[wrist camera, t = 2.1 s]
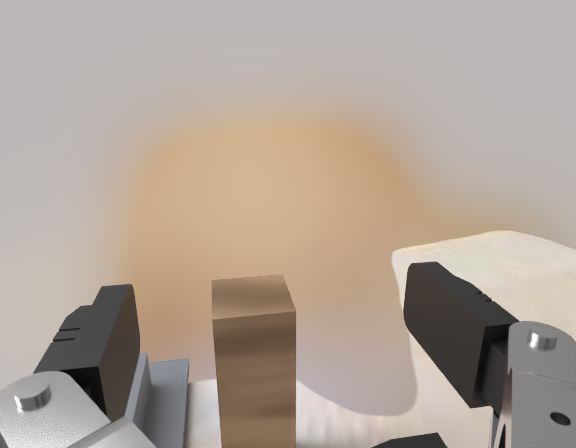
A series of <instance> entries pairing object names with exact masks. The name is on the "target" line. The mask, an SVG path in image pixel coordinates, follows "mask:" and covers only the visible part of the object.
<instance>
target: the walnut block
mask: <svg viewBox="0 0 576 448" xmlns="http://www.w3.org/2000/svg"><path fill="white" fill-rule="evenodd" d="M212 322H213V334H214V348H215V362H216V375H217V389H218V402H219V416H220V429H221V443H222V448H296V310H295V307H294V304H293V302H292V299H291V296H290V293H289V291H288V288H287V285H286V282H285V280H284V277H283V275H270V276H258V277H246V278H234V279H223V280H212Z"/></svg>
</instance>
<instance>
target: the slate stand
mask: <svg viewBox="0 0 576 448" xmlns="http://www.w3.org/2000/svg"><path fill="white" fill-rule="evenodd" d="M188 375H189V359H178V360H169V361H161V362H152V363H148V356H147V353H146V354H139V359H138V363H137V367H136V372H135V376H134V380H133V384H132V388H131V392H130V396H129V400H128V404H127V408H126V412H125V417H127V418H128V419H130V420H131V421H132V422H133V423H134V424H135V425H136V426H137V427H138V429H139V430H140V431H141V432H142V433H143V434H144V435H145V436H146V437H147V438H148V439H149V440H150V441H151V442H152V443H153V444H154V445H155V446H156V447H157V448H184V436H185V421H186V405H187V390H188Z"/></svg>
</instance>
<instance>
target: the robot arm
mask: <svg viewBox="0 0 576 448" xmlns="http://www.w3.org/2000/svg"><path fill="white" fill-rule="evenodd" d="M403 312H404V320H405V324H406V326H407V328H408V330H409V332H410V333H411V334H412V335H413V337H414V338H415V339H416V340H417V342H418V343H419V344H420V345H421V347H422V348H423V349H424V350H425V352H426V353H427V354H428V356H429V357H430V358H431V359H432V361H433V362H434V363H435V364H436V366H437V367H438V368H439V369H440V371H441V372H442V373H443V374H444V376H445V377H446V378H447V380H448V381H449V382H450V383H451V385H452V386H453V387H454V388H455V390H456V391H457V392H458V393H459V395H460V396H461V397H462V398H463V400H464V401H465V402H466V404H467V405H468V406H469V407H470V408H477V407H484V406H491V407H492V408H493V411H492V416H491V421H490V434H489V447H488V448H576V342H575V340H574V339H573V338H572V337H571V336H569V335H568V334H567V333H565V332H563V331H562V330H560V329H558V328H555V327H553V326H550V325H547V324H543V323H539V322H532V321H521V322H520V321H519V320H517V319H516V318H515V317H514V316H512V315H511V314H510V313H508V312H507V311H506V310H505V309H503V308H502V307H501V306H499V305H498V304H497V303H496V302H494V301H493V302H492V299H491V298H489V297H488V296H487V295H485V294H483V293H482V291H480V290H479V289H478V288H477V287H475V286H474V285H473V284H471V283H470V282H467V281H465V280H463V279H461V278H458V277H456V276H454V275H453V274H452V273H450V272H449V271H448V270H447V269H445V268H444V267H443V266H442V265H440V264H439V263H438V262H424V263H412V264H411V265H410V266H409V268H408V272H407V281H406V290H405V300H404V311H403ZM139 354H140V333H139V326H138V318H137V310H136V303H135V296H134V289H133V286H132V285H131V284H125V285H112V286H102V287H101V289H100V291H99V293H98V295H97V297H96V299H95V300H94V303H93V304H92V305H87V306H80V307H79V308H78V309H76V310H75V311H74V312H73V313H71V314H70V315H69V316H67V317H66V319H65V320H64V322H63V324H62V325H61V327H60V329H59V332H57V334H56V335H55V337H54V339H53V343H51V344H50V346H49V347H48V349H47V351H46V352H45V354H44V356H43V358H42V359H41V361H40V362H39V364H38V366H37V367H36V369H35V371H34V373H33V374H32V375H29V376H26V377H23V378H21V379H19V380H17V381H15V382H13V383H12V384H10V385H8V386H7V387H6V388H4V389H3V390H2V391H1V392H0V448H157V447H156V446H155V445H154V444H153V443H152V442H151V441H150V440H149V439H148V438H147V437H146V436H145V435H144V434H143V433H142V432H141V431H140V430H139V429H138V427H137V426H136V425H135V424H134V423H133V422H132V421H131V420H130V419H128V418H127V417H125V412H126V408H127V404H128V400H129V396H130V392H131V388H132V384H133V380H134V376H135V372H136V367H137V363H138V359H139ZM372 448H447V446H446V445H445V443H444V442H443V440H442V439H441V437H440V436H439V434H438V433H431V434H424V435H418V436H411V437H404V438H397V439H391V440H388V441H386V442H384V443H381V444H379V445H377V446H374V447H372Z"/></svg>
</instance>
